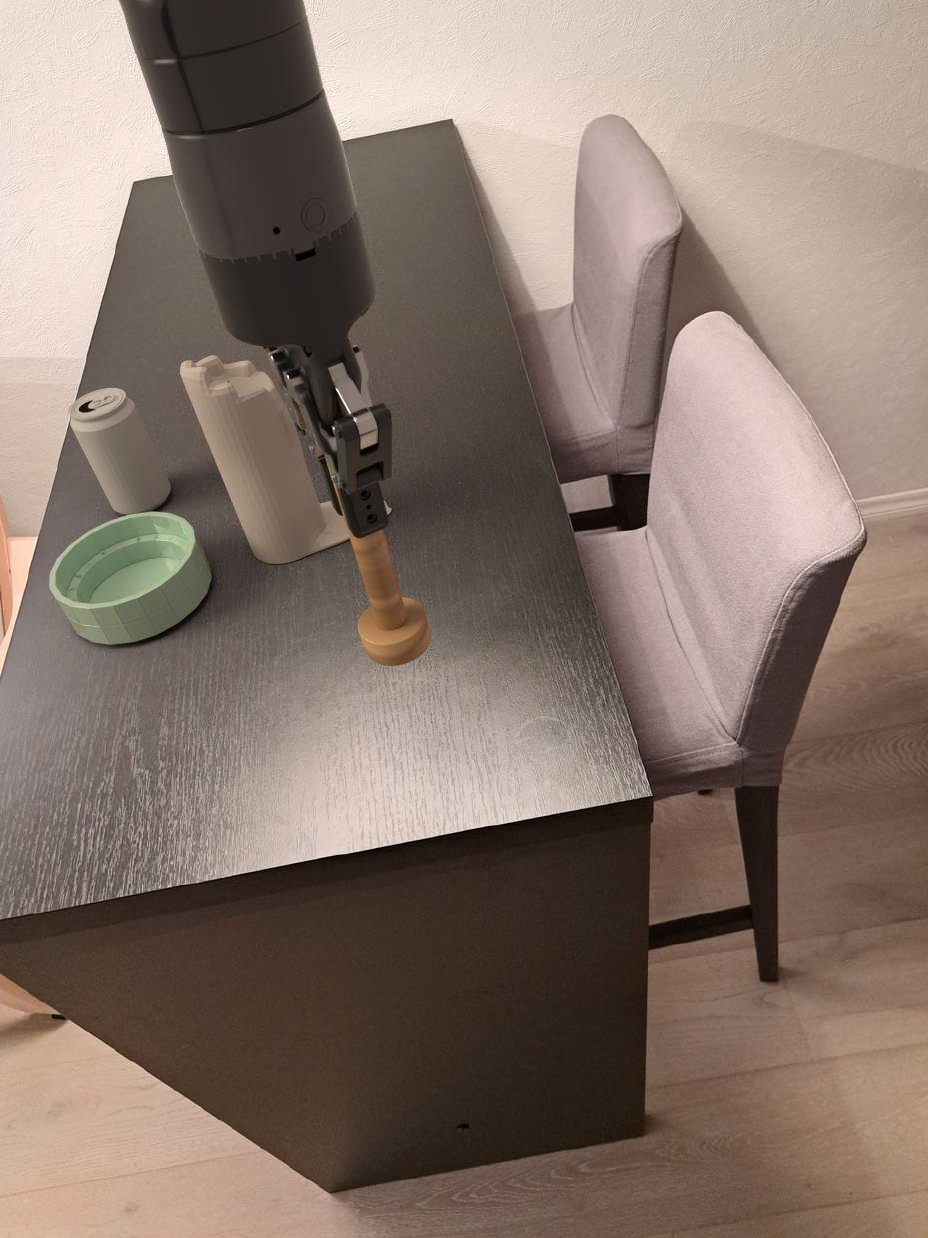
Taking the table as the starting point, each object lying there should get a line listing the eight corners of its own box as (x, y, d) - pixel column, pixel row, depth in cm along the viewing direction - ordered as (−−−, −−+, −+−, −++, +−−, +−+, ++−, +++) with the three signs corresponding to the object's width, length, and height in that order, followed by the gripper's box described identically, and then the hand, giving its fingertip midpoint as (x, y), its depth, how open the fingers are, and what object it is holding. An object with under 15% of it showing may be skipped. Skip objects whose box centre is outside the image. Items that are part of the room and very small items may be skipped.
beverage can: (110, 497, 101) (60, 399, 93) (167, 476, 103) (123, 377, 95) (119, 527, 97) (67, 427, 89) (179, 504, 98) (133, 403, 90)
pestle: (417, 670, 59) (362, 471, 49) (354, 662, 60) (287, 467, 50) (440, 622, 62) (392, 424, 52) (379, 615, 63) (321, 422, 53)
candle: (399, 521, 90) (348, 325, 76) (261, 574, 87) (183, 382, 74) (375, 484, 95) (323, 295, 81) (244, 533, 92) (168, 347, 79)
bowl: (166, 657, 81) (144, 615, 78) (45, 640, 85) (18, 599, 82) (238, 558, 90) (220, 516, 86) (124, 547, 94) (103, 507, 91)
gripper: (161, 202, 47) (265, 488, 58) (238, 290, 37) (345, 612, 49) (301, 157, 48) (375, 444, 60) (410, 229, 39) (474, 555, 50)
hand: (362, 518), depth 54 cm, fingers closed on pestle, 2 cm apart
